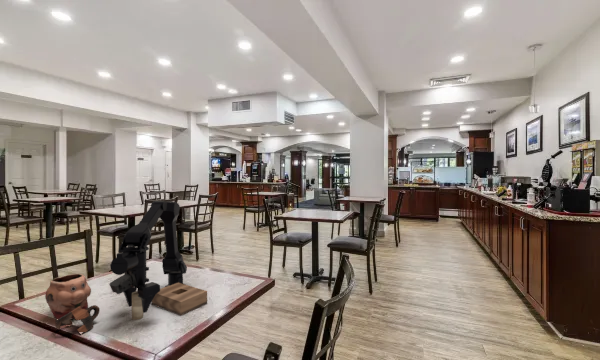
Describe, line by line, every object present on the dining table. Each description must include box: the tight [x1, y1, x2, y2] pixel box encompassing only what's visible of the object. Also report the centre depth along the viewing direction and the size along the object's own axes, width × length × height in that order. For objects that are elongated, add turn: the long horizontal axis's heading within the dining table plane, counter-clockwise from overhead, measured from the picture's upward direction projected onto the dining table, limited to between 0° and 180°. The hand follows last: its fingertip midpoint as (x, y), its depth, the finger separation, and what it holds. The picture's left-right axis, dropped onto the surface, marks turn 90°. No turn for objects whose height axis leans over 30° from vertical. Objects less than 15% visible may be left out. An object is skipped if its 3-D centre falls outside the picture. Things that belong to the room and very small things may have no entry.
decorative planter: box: [44, 273, 92, 320], centre depth 107 cm, size 20×12×14 cm, turn 66°
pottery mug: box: [54, 304, 101, 333], centre depth 98 cm, size 12×10×8 cm
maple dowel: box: [131, 290, 144, 321], centre depth 105 cm, size 4×4×9 cm
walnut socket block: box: [151, 283, 208, 316], centre depth 116 cm, size 18×12×5 cm, turn 58°
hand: (137, 309), depth 105 cm, fingers open, 9 cm apart
